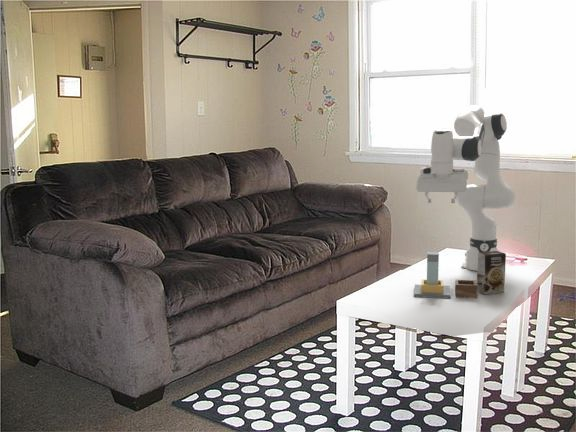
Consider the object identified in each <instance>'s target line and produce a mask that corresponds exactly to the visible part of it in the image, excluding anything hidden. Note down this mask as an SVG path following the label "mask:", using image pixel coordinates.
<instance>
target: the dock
mask: <svg viewBox="0 0 576 432" xmlns="http://www.w3.org/2000/svg"><path fill="white" fill-rule="evenodd" d="M414 296H419V297H418V298H433V297H434V298H436V299H438V298H439V299H451V287H450V285H444V280H443V279H438V285H428V284H427V279H421V284H414V291H413V297H414Z"/></svg>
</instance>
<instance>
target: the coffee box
mask: <svg viewBox="0 0 576 432" xmlns="http://www.w3.org/2000/svg"><path fill="white" fill-rule="evenodd" d="M506 256H507V253H505V252H502V251H500V252H498V251H490V252H478V270H477V271H476V272H477V274H476V283H477V292H479V293H481V294H483V295H490V294H491V295H492V294H501V293H502V294H504V293H505V284H506V283H505V280H506V258H507V257H506Z"/></svg>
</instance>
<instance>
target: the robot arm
mask: <svg viewBox="0 0 576 432" xmlns="http://www.w3.org/2000/svg"><path fill="white" fill-rule="evenodd" d="M453 126H454V127H453V128H454V131H455V133H456V135H458V136H454V135H453V130H452V129H449V128H440V129H439V128H437V129H436V130H434V131H433V133H432V137H431V145H430V146H431V147H430V151H431V160H430V165H426V166H423V167H421V168H419V174H418V177H417V181H416V188H415V190H416V191H417V192H419V193H424V195H425V197H426V199H427V204H431V203H432V198H431V197H430V196H429V193H453V194H454V196H453V197H452V198H451V199H450V203H451V204H456V203H457V205H458V206H459V207H460V208H461V209H463V210H464V211H465V213H467V215H468V218H469V220H470V238H469V248H467V250H466V251H465V252H464V257H465V258H464V261H463V263H462V264H461V268H462V269H467V270H471V271H476V272H477V270H478V252H490V251H498V252H501V251H500V250H499V249H498V247H497V246H498V239H497V225H498V224H497V221H496V220H495V219H494V218H492V217H491V216H489V215H487V214H485V213H484V211H483V210H484V209H487V210H488V209H489V210H502V209H503V210H504V209H508V208H509V209H510V207H512V206H513V204H514V203H515V200H516V199H515V198H516V195H515V191H514V190H513V188H512V187H511V186H509V185H508V184H507V183H506V182H505V181H504V180H503V178H502V176H501V171H500V170H501V169H500V161H501V160H500V159H501V150H500V149H501V147H500V142H499V140H501V139H502V136H503V135H505V134H506V131H507V126H508V125H507V118H506V117H505V115H504V114H503V113H501V112H492V113H486V114H485V111H484V109H483V108H482V107H481V106H479V105H478V104H477V105H476V104H475V105H474V104H472V105H470V106H468V107H466V108H464V109H463V110H462V111H461V112H460V113H459V114H457V117H456V118H455V120H454V123H453ZM454 161H468V162H474V165H473V167H474V168H473V170H474V175H475V177H477V178H478V179H480V180H481V181H484V182H485V183H486V184H474V183H473V184H471V183H470V184H468V183H467V180H468V179H469V172H468V171H467V170H466V169H464V168H461V169H457V168H454Z"/></svg>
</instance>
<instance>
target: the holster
mask: <svg viewBox="0 0 576 432" xmlns="http://www.w3.org/2000/svg"><path fill="white" fill-rule="evenodd" d="M454 295H455V298H471V299H477V298H478V291H477V279H475V280H474V279H455V280H454Z"/></svg>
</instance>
